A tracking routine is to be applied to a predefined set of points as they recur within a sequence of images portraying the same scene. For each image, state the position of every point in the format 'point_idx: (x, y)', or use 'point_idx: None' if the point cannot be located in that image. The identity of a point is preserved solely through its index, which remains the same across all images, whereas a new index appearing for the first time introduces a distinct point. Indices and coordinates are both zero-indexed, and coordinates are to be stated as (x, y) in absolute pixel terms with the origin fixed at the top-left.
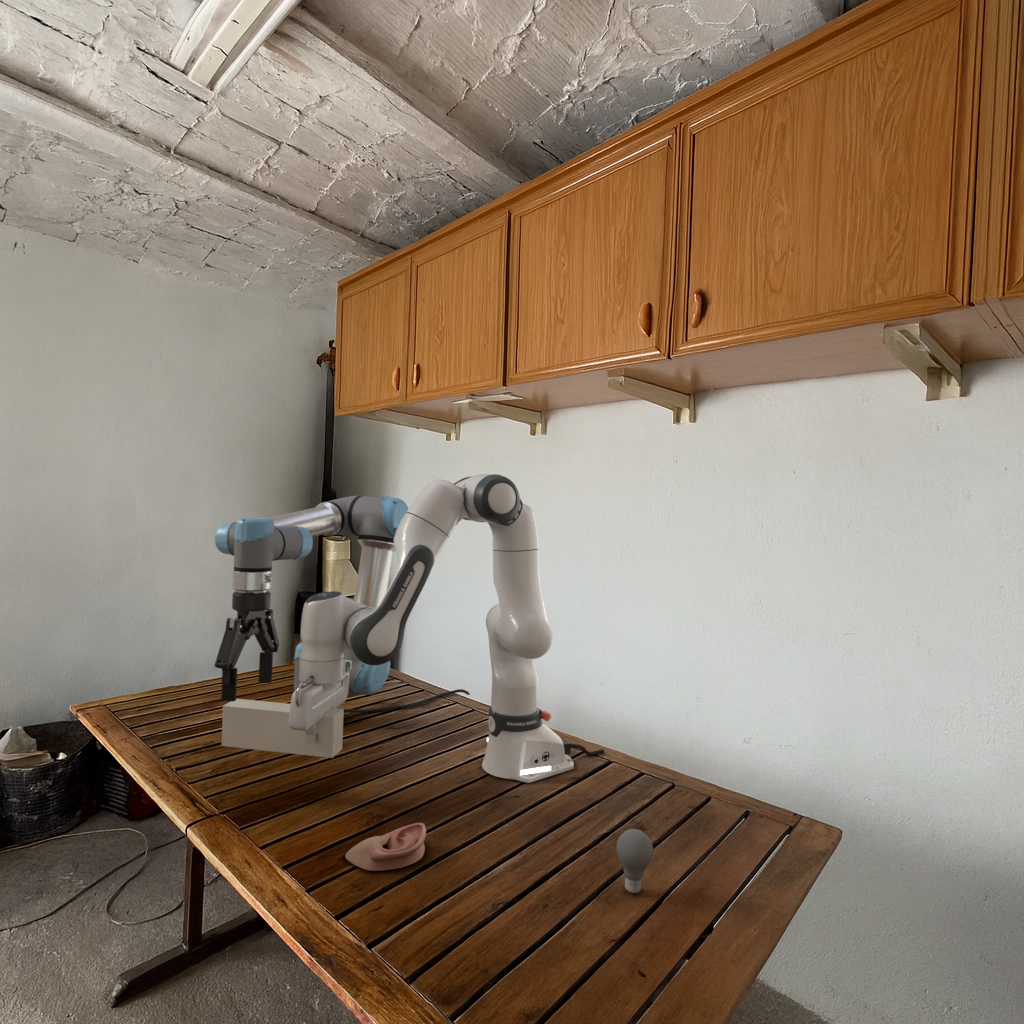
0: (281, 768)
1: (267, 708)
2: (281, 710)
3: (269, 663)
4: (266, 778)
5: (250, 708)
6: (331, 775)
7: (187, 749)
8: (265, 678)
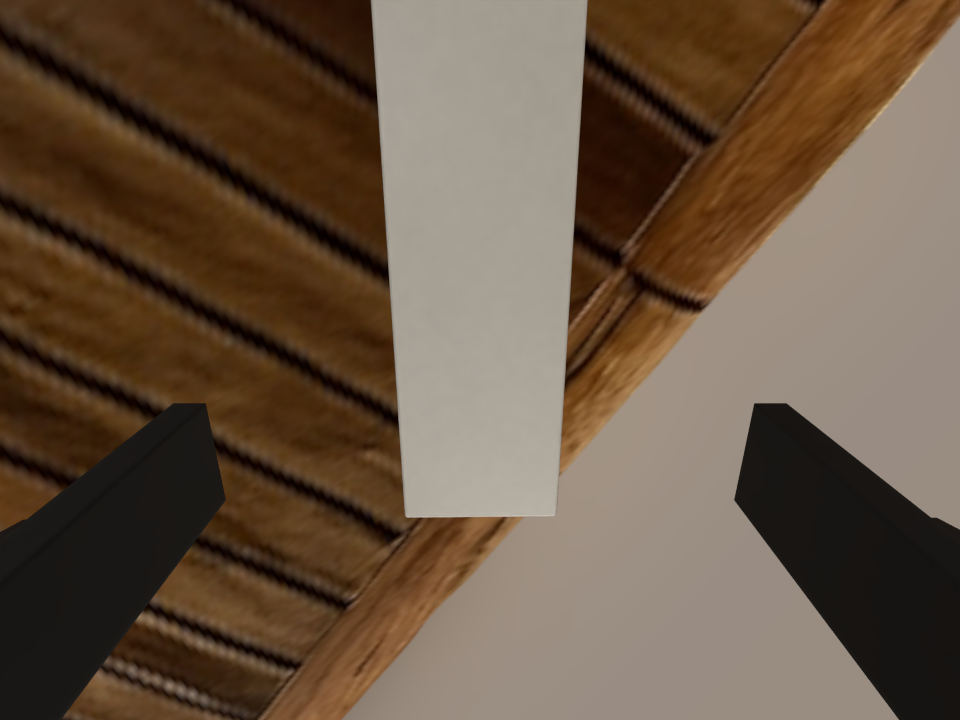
0: (272, 249)
1: (543, 207)
2: (563, 60)
3: (73, 539)
4: (362, 258)
5: (567, 331)
6: (249, 12)
7: (268, 588)
8: (195, 464)
